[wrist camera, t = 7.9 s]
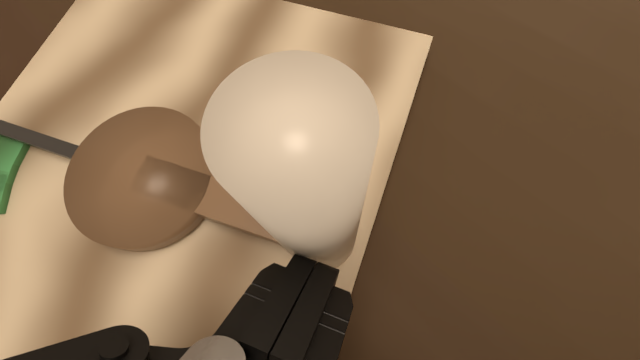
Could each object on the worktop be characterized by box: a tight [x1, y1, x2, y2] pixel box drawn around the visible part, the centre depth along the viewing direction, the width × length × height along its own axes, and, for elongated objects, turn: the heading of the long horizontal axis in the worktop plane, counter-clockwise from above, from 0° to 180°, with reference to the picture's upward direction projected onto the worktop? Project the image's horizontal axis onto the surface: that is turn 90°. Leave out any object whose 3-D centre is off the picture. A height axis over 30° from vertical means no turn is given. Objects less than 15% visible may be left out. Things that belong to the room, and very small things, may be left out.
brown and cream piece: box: [0, 50, 380, 268], centre depth 12 cm, size 21×7×11 cm, turn 71°
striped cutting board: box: [0, 0, 433, 360], centre depth 18 cm, size 22×26×2 cm
